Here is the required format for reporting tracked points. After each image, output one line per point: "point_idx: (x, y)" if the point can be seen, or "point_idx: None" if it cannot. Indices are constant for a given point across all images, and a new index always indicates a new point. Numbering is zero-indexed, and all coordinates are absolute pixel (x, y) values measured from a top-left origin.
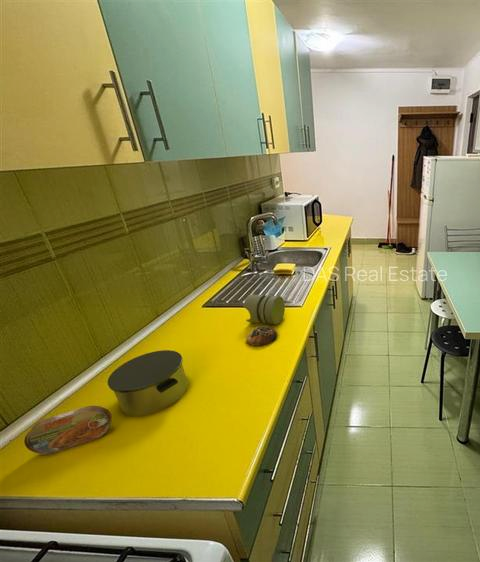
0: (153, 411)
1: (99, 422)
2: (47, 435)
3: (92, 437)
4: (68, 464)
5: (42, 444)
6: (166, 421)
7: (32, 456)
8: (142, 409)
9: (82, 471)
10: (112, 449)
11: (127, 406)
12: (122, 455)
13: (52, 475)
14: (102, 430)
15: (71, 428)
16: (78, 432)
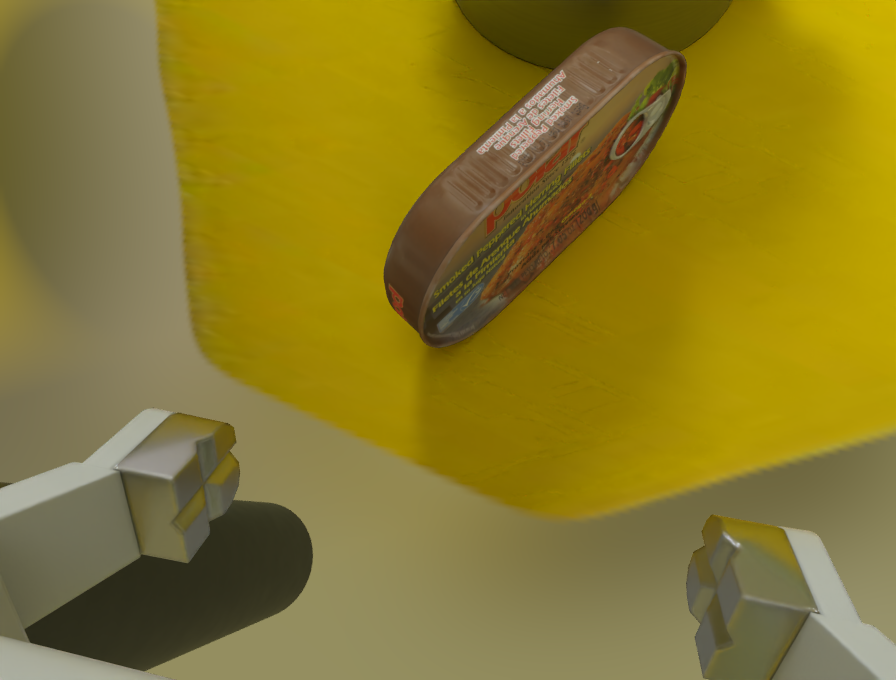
0: (716, 17)
1: (646, 119)
2: (485, 258)
3: (596, 203)
4: (644, 334)
5: (465, 304)
6: (829, 39)
7: (409, 361)
8: (699, 13)
9: (761, 336)
10: (756, 217)
11: (638, 15)
12: (847, 223)
13: (642, 395)
14: (631, 158)
15: (560, 188)
16: (571, 198)
